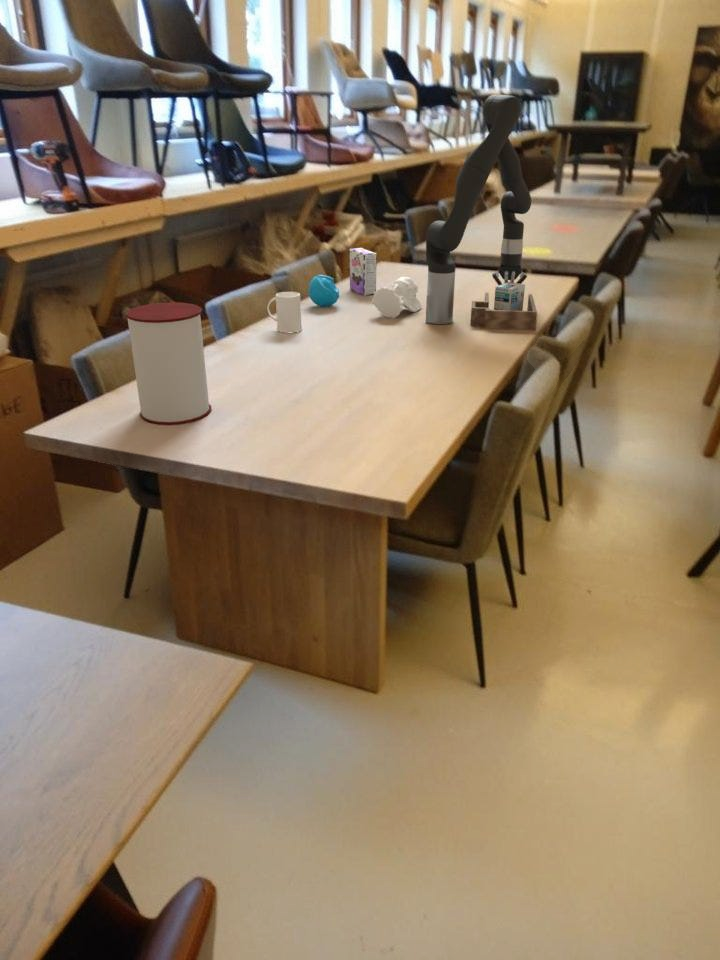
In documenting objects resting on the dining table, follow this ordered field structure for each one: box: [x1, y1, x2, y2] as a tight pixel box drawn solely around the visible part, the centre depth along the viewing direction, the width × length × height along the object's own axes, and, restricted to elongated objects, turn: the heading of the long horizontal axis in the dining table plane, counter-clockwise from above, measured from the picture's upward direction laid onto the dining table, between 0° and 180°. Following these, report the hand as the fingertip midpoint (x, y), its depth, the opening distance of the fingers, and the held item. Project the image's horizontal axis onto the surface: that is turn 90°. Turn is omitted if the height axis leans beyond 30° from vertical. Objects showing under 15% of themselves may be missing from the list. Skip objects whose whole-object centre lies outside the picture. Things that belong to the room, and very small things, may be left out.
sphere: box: [308, 274, 340, 308], centre depth 278 cm, size 12×11×12 cm
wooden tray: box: [470, 292, 538, 331], centre depth 263 cm, size 22×27×6 cm
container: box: [125, 301, 212, 426], centre depth 178 cm, size 17×17×25 cm
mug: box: [267, 291, 303, 333], centre depth 249 cm, size 12×8×12 cm
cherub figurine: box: [371, 276, 423, 319], centre depth 271 cm, size 13×12×20 cm
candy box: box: [349, 247, 378, 297], centre depth 299 cm, size 14×6×16 cm, turn 25°
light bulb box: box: [493, 281, 526, 311], centre depth 266 cm, size 11×7×11 cm, turn 143°
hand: (507, 299), depth 275 cm, fingers closed
